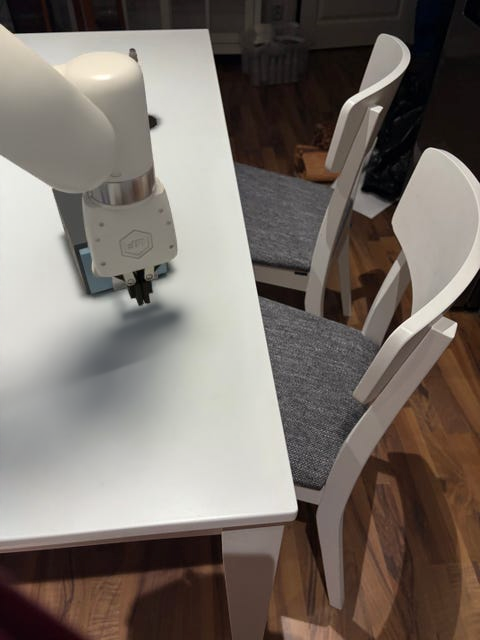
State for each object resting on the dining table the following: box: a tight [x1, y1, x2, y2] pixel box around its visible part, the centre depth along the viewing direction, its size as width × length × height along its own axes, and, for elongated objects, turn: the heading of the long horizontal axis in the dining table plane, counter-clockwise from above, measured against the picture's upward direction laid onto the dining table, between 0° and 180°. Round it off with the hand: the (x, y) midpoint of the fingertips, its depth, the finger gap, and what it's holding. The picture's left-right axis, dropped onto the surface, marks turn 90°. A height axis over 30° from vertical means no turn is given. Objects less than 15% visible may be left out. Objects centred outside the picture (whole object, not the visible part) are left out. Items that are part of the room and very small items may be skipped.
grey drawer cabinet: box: [51, 187, 170, 294], centre depth 80 cm, size 15×13×9 cm
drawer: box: [79, 246, 168, 294], centre depth 77 cm, size 19×11×7 cm, turn 24°
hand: (141, 297), depth 71 cm, fingers closed
